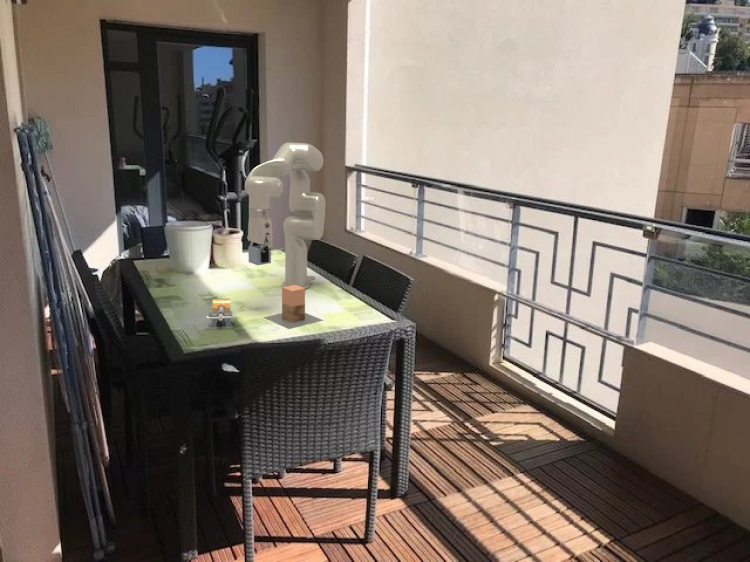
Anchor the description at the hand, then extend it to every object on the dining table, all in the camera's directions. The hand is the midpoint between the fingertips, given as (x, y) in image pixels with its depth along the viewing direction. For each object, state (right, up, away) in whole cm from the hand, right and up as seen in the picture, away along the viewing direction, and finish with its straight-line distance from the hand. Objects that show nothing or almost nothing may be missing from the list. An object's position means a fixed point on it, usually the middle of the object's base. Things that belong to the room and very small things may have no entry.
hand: (259, 259), depth 234 cm
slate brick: (0, -1, 0) cm, 1 cm away
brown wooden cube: (+13, -22, -3) cm, 26 cm away
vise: (-13, -23, -6) cm, 27 cm away
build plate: (+13, -23, -3) cm, 27 cm away
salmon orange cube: (+13, -16, -5) cm, 22 cm away
